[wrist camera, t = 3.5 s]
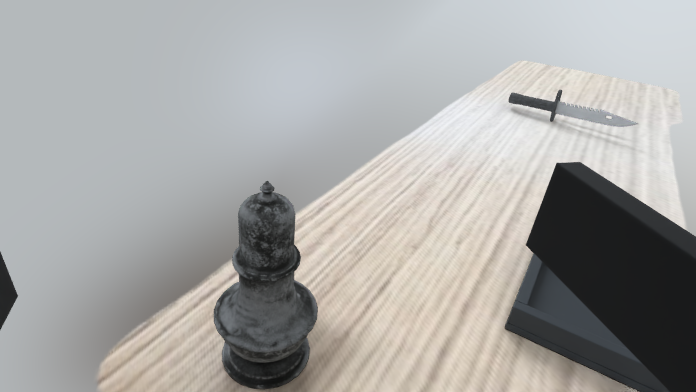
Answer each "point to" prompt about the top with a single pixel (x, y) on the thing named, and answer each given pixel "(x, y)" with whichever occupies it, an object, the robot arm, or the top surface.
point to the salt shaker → (265, 298)
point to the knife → (570, 110)
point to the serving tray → (573, 329)
